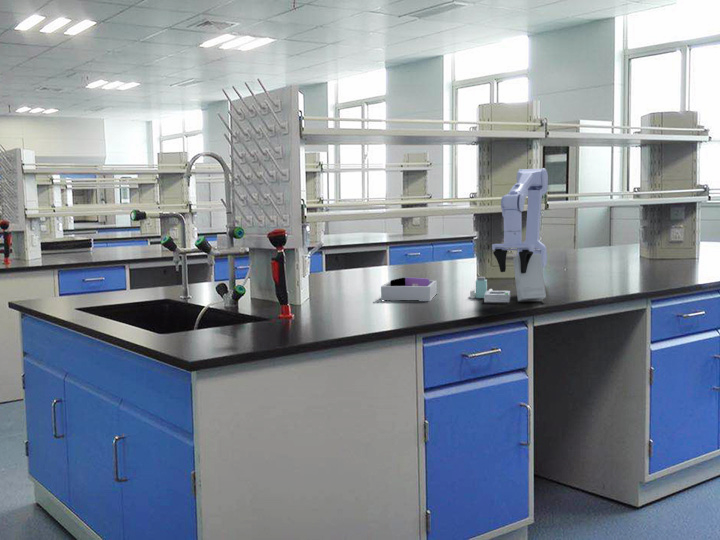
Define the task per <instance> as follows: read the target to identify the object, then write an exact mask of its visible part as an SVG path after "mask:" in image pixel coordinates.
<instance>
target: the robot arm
mask: <svg viewBox="0 0 720 540" xmlns="http://www.w3.org/2000/svg"><path fill="white" fill-rule="evenodd" d="M548 183H549V174H548V170H547V169H546V168H545V167H542V168H525V169H522V168H519V169H518V170H517V172H516V183H514V184H513V186H512V187H511V188H510V190H509V191H508V193H507V194H504V195H502V197H501V198H500V199H501V200H500V207H501V208H500V209H501V215H502V218H503V243H493V244H491V248H492V251H493V255H494V257H495V259H496V260H497V264H498V267H499V271H500V273H506V269H507V267H506V266H507V263H506V261H507V256H508V255H507V254H508V251H516V252H517V253H516V256H517V255H519V256H520V262H521V273H526V270H527V266H528V263H529V260H530V258H531V256H532V254H541V260H542V268H543V269H545V267H546V266H547V264H548V253H547V252H548V250H547V246H546V245H545V244H544V243H543V242H541V241H540V234H541V233H540V232H541V231H540V230H541V216H542V215H541V214H542V213H541V212H542V210H541V209H542V201H543V200H542V198H543V195H545V194H546V193H547V192H548V185H549V184H548ZM526 199H527V206H526V210H527V211H526V224H525V225H526V226H525V227H526V228H525V240H522V239H523V238H522V237H523V236H522V230H523V229H522V225H523V224H522V220H523V219H522V212H524V207H525V203H526V202H525V200H526Z"/></svg>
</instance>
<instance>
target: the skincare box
mask: <svg viewBox="0 0 720 540" xmlns="http://www.w3.org/2000/svg"><path fill="white" fill-rule="evenodd" d="M512 264H513V269H514V270H513V271H514V278H515V286H516V287H515V289H516V295H517V302H531V301H533V302H535V301H542V300H544V299H545V298H546V297H547V294H546V287H545V279H544V278H545V277H544V268H542V260H541V254H532V256H531V258H530V260H529V263H528V266H527V270H526V273H521V262H520V256H519V255H517V254H516V256H515V257H513V258H512Z"/></svg>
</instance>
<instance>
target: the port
mask: <svg viewBox="0 0 720 540" xmlns="http://www.w3.org/2000/svg"><path fill="white" fill-rule="evenodd" d="M483 299H484V301H483V302H484V304H509V303H510V301H511V290H493V291H489V290H487V291H486V292H485V294H484V298H483Z"/></svg>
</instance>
